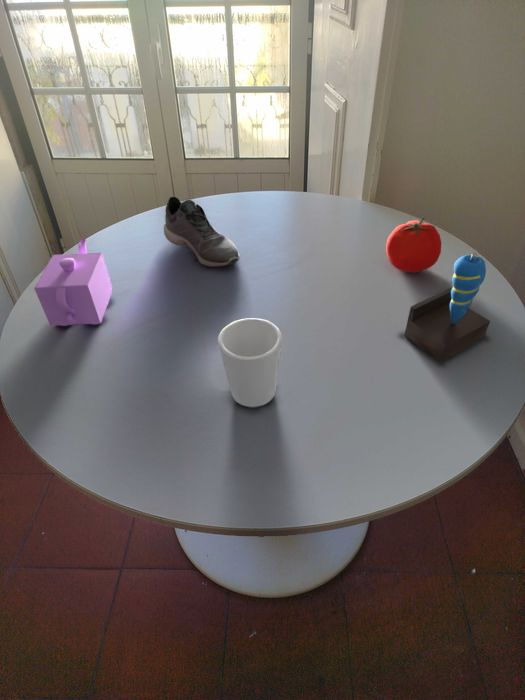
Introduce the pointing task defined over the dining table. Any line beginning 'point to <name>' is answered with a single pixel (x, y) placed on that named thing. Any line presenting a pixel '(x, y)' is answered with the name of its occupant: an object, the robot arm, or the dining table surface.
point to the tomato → (413, 246)
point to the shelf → (443, 326)
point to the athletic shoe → (197, 234)
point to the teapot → (75, 288)
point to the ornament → (465, 284)
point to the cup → (251, 360)
